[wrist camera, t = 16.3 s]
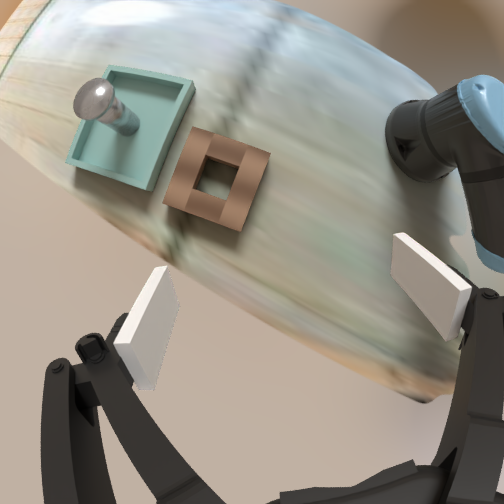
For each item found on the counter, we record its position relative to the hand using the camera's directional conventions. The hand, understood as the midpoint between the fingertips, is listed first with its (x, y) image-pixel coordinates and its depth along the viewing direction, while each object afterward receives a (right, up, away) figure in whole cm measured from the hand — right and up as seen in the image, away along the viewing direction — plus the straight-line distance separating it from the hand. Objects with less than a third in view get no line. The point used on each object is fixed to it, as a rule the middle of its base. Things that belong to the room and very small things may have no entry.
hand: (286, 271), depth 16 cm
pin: (-22, +21, +24) cm, 38 cm away
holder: (-7, +12, +26) cm, 30 cm away
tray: (-22, +21, +25) cm, 39 cm away
